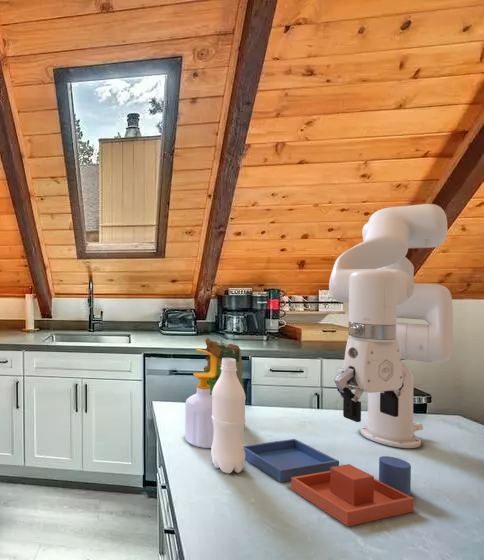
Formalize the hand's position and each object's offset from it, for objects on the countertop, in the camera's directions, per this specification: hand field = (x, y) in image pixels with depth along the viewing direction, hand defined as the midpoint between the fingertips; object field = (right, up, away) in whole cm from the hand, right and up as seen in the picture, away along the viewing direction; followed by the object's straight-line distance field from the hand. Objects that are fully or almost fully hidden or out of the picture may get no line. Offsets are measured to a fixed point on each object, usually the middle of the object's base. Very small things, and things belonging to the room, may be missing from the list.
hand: (370, 417), depth 77 cm
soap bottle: (-25, -16, +25) cm, 39 cm away
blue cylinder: (+6, -16, +2) cm, 17 cm away
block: (-5, -15, -1) cm, 16 cm away
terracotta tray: (-5, -16, -1) cm, 17 cm away
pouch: (-15, -16, +37) cm, 43 cm away
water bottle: (-24, -16, +11) cm, 31 cm away
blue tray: (-9, -16, +13) cm, 22 cm away
